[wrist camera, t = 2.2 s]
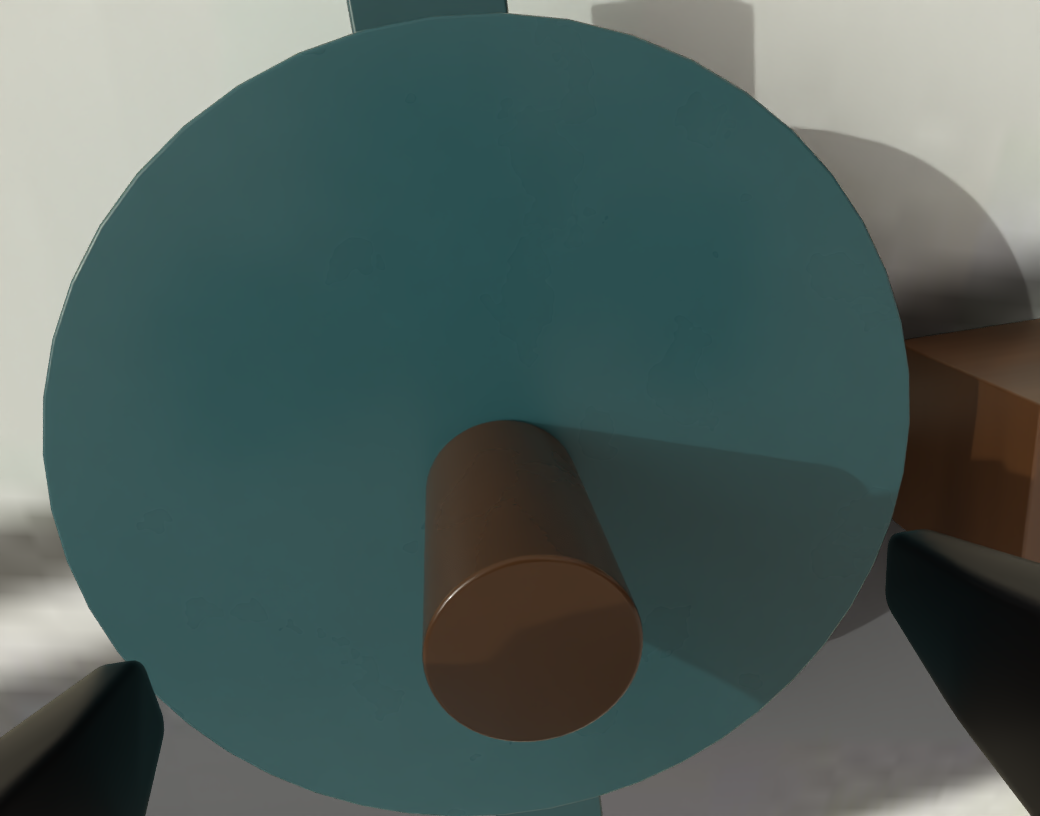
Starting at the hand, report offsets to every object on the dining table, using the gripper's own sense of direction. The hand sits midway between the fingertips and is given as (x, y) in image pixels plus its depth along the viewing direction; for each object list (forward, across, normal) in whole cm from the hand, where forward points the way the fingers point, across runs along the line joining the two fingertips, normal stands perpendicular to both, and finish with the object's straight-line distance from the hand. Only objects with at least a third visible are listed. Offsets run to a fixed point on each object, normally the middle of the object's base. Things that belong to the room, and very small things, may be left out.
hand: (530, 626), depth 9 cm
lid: (+5, 0, 0) cm, 5 cm away
